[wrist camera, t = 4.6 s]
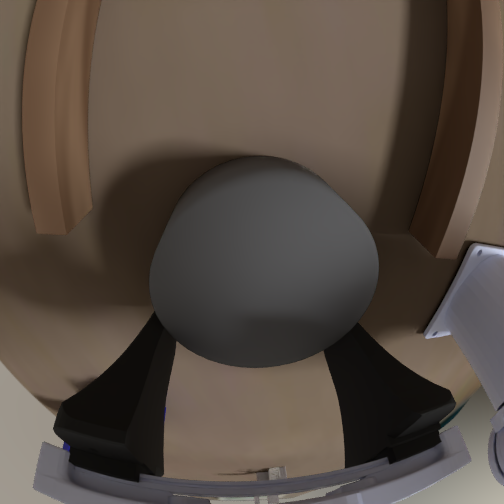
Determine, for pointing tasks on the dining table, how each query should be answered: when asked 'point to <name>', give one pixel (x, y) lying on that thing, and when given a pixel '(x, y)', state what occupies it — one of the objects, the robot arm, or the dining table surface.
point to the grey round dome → (262, 265)
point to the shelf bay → (76, 120)
